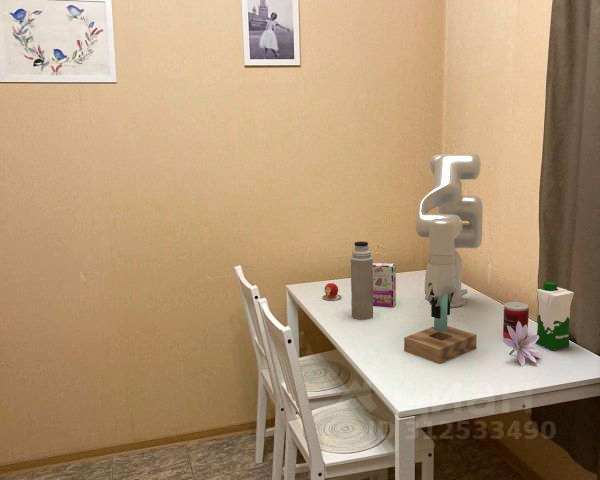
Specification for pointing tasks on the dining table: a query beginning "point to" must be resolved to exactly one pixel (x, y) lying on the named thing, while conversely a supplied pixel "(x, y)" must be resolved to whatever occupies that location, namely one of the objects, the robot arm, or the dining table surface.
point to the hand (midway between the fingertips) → (440, 315)
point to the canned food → (514, 316)
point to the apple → (331, 292)
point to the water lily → (522, 343)
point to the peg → (442, 315)
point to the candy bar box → (384, 284)
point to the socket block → (440, 344)
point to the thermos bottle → (362, 282)
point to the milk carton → (553, 316)
